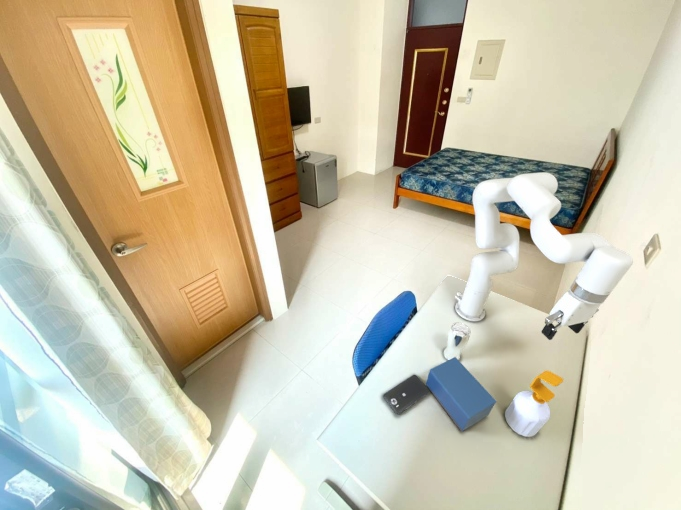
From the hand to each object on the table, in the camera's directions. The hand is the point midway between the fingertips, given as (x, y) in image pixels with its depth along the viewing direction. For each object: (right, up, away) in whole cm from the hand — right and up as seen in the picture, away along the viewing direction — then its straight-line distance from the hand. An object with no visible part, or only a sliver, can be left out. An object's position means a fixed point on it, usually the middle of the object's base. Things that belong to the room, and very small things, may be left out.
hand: (559, 332), depth 83 cm
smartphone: (-43, -25, +12) cm, 51 cm away
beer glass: (-22, -16, +25) cm, 37 cm away
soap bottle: (-9, -30, +5) cm, 31 cm away
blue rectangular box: (-27, -26, +10) cm, 39 cm away
